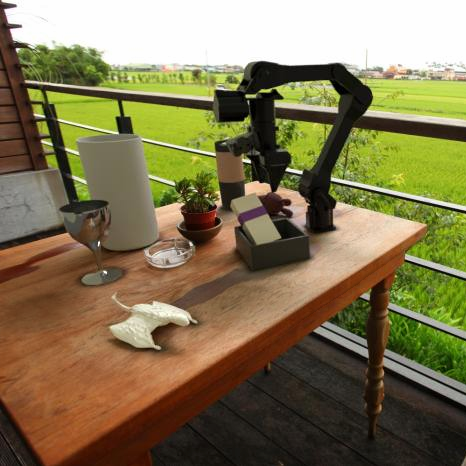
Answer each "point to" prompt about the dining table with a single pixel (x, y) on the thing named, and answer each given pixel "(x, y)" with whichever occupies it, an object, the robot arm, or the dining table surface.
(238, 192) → the travel mug
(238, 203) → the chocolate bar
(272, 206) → the brown animal figurine
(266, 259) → the open storage bin
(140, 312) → the winged dragon toy
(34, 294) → the dining table surface
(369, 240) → the dining table surface
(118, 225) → the cylinder vase
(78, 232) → the silver goblet
